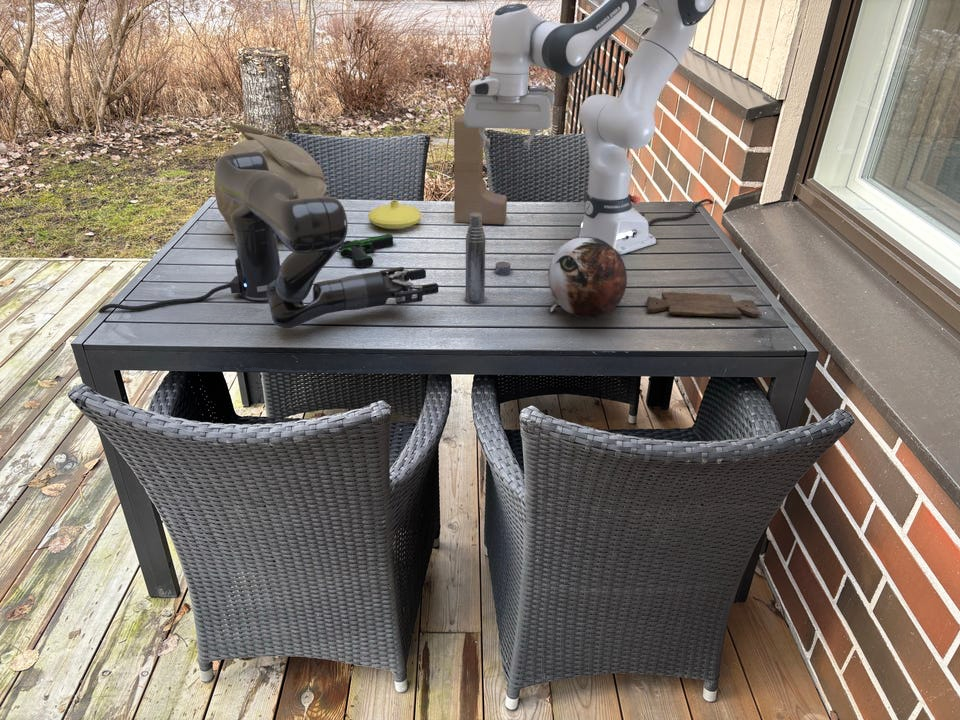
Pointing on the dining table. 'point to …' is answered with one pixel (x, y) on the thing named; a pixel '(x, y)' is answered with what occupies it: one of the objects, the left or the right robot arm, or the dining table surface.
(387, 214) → the yellow domed disc
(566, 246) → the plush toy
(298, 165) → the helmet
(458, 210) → the decorative block
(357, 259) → the handgun
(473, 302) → the bottle
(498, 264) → the cap
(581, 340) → the dining table surface
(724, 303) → the dark wooden board
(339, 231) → the left robot arm
